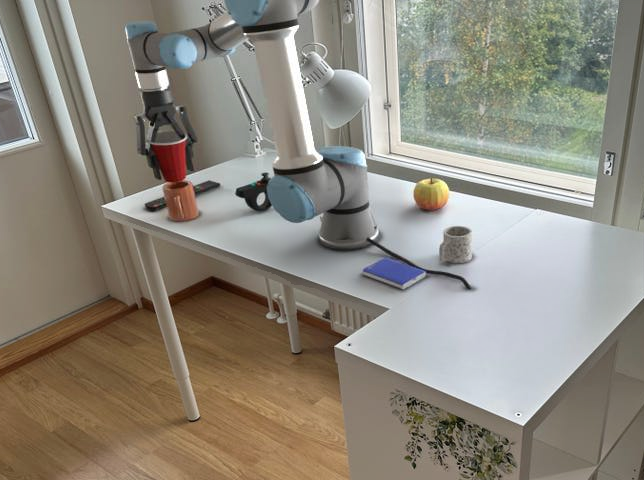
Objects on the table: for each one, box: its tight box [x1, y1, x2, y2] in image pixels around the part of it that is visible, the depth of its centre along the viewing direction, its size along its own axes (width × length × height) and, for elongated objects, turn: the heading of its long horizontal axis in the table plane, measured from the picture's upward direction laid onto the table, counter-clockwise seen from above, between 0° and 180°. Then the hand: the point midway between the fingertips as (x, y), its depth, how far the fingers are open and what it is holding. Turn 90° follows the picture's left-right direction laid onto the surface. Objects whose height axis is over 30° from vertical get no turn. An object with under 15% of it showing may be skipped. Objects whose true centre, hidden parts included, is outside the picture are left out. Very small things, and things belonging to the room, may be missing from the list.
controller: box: [234, 172, 273, 212], centre depth 200 cm, size 4×12×10 cm, turn 133°
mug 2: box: [438, 225, 473, 264], centre depth 169 cm, size 10×7×7 cm, turn 140°
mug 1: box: [161, 179, 199, 222], centre depth 198 cm, size 11×8×9 cm
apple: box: [413, 177, 450, 211], centre depth 197 cm, size 10×10×8 cm
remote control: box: [144, 180, 221, 212], centre depth 213 cm, size 5×24×1 cm, turn 142°
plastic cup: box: [145, 129, 188, 183], centre depth 192 cm, size 11×11×12 cm
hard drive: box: [362, 257, 427, 290], centre depth 164 cm, size 2×8×12 cm
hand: (174, 174), depth 195 cm, fingers closed on plastic cup, 9 cm apart
